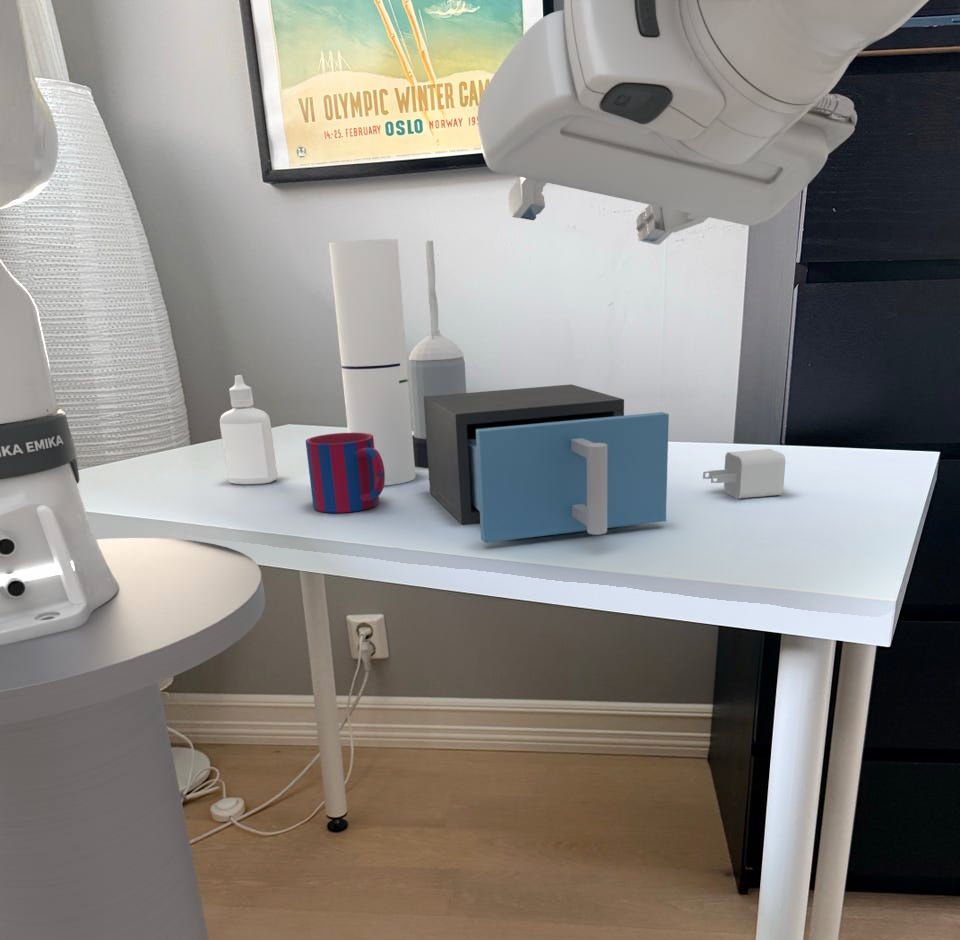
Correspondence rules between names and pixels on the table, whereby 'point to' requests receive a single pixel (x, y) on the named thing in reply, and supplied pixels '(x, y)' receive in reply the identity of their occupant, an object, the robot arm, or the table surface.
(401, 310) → the cylindrical container
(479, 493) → the drawer
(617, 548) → the table surface
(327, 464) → the mug
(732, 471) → the usb wall charger
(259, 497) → the table surface
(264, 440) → the eye dropper bottle
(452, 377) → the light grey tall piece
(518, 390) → the dark grey cabinet
